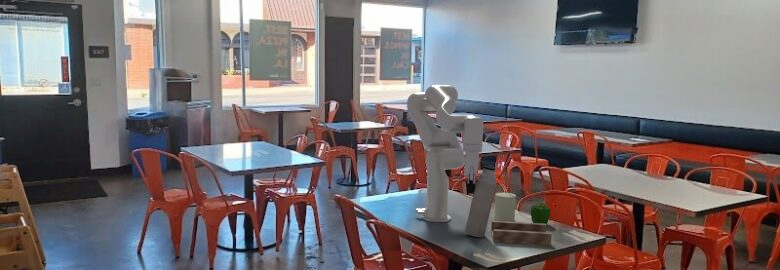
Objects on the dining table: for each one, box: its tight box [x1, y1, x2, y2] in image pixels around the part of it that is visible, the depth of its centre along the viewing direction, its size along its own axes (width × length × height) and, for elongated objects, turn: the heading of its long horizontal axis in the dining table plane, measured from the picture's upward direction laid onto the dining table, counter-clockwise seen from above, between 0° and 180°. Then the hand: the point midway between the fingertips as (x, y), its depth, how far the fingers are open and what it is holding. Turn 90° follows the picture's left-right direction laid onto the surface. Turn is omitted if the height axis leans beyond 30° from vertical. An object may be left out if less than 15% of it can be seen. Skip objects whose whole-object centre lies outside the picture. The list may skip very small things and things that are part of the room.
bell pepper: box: [529, 201, 551, 225], centre depth 259 cm, size 8×8×10 cm
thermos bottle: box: [464, 165, 497, 238], centre depth 237 cm, size 8×8×28 cm
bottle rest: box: [490, 220, 552, 246], centre depth 237 cm, size 22×15×4 cm
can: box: [493, 192, 517, 222], centre depth 264 cm, size 9×9×12 cm
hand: (470, 193), depth 237 cm, fingers closed
